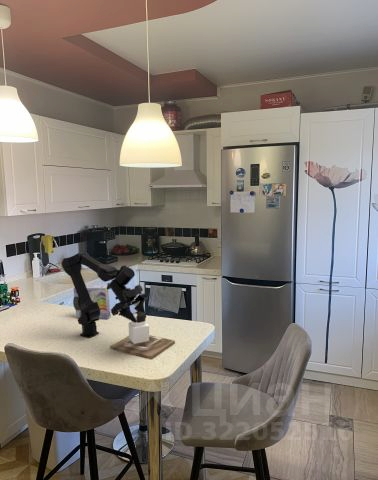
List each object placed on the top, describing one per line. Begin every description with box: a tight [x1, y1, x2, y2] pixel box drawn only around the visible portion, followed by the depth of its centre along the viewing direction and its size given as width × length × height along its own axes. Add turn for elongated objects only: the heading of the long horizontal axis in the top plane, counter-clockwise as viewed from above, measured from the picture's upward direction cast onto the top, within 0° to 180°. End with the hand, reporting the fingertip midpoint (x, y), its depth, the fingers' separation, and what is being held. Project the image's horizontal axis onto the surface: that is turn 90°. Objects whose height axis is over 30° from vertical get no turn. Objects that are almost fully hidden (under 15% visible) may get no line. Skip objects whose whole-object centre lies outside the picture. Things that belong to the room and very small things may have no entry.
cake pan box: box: [72, 284, 112, 320], centre depth 205 cm, size 19×5×18 cm, turn 81°
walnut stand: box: [109, 334, 176, 360], centre depth 168 cm, size 22×18×2 cm
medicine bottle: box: [128, 311, 150, 344], centre depth 164 cm, size 7×7×12 cm
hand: (140, 319), depth 163 cm, fingers closed on medicine bottle, 6 cm apart
